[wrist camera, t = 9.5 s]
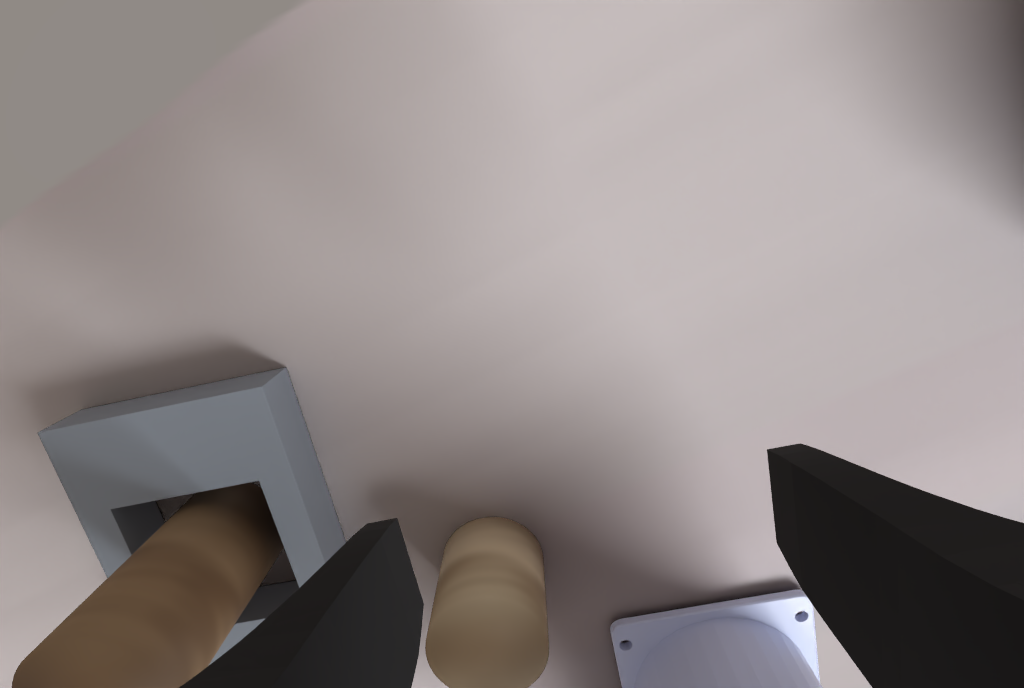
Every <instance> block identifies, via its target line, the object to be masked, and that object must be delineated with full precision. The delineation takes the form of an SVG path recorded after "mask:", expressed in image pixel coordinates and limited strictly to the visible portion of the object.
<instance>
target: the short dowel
mask: <svg viewBox="0 0 1024 688" xmlns="http://www.w3.org/2000/svg"><path fill="white" fill-rule="evenodd" d="M425 649H426V656H427V660H428V663H429V665H430V667H431V669H432V671H433V672H434V674H435V675H436V676H437V677H438V679H440V680H441V681H442V682H443V683H444V684H445V685H447V686H448V687H449V688H527V687H529V686H530V685H531V684H533V683H534V682H535V681H536V680H537V679H538V678H539V676H540V675H541V674H542V672H543V670H544V668H545V666H546V664H547V661H548V656H549V640H548V624H547V608H546V592H545V577H544V561H543V553H542V549H541V546H540V544H539V542H538V540H537V539H536V537H535V536H534V535H533V534H532V533H531V532H530V531H529V530H528V529H527V528H526V527H524V526H522V525H521V524H519V523H517V522H515V521H512V520H509V519H505V518H500V517H485V518H479V519H475V520H473V521H470V522H468V523H466V524H464V525H463V526H461V527H460V528H458V529H457V530H456V531H455V532H454V533H453V534H452V536H451V537H450V538H449V540H448V542H447V544H446V546H445V550H444V554H443V559H442V564H441V569H440V574H439V579H438V583H437V588H436V593H435V598H434V603H433V608H432V613H431V618H430V623H429V628H428V633H427V638H426V646H425Z"/></svg>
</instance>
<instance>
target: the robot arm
mask: <svg viewBox="0 0 1024 688" xmlns="http://www.w3.org/2000/svg"><path fill="white" fill-rule="evenodd" d="M767 453H768V463H769V473H770V482H771V492H772V502H773V511H774V521H775V531H776V540H777V544H778V546H779V548H780V550H781V552H782V554H783V555H784V557H785V559H786V561H787V563H788V565H789V567H790V569H791V570H792V572H793V574H794V576H795V578H796V579H797V581H798V583H799V585H800V587H801V588H802V590H790V591H784V592H778V593H772V594H766V595H760V596H754V597H748V598H742V599H736V600H730V601H724V602H718V603H712V604H706V605H700V606H694V607H688V608H683V609H677V610H671V611H665V612H659V613H653V614H647V615H641V616H635V617H629V618H623V619H619V620H616V621H615V622H613V623H612V625H611V627H610V632H611V637H612V642H613V647H614V652H615V657H616V662H617V666H618V671H619V676H620V681H621V686H622V688H823V687H822V686H821V684H820V679H819V668H818V656H817V644H816V633H815V621H814V610H813V606H814V607H815V609H816V610H817V611H818V613H819V614H820V616H821V617H822V618H823V620H824V621H825V623H826V624H827V625H828V627H829V628H830V630H831V631H832V632H833V634H834V635H835V637H836V638H837V639H838V641H839V642H840V643H841V645H842V646H843V648H844V649H845V650H846V652H847V653H848V654H849V656H850V657H851V659H852V660H853V661H854V663H855V664H856V666H857V667H858V668H859V670H860V671H861V672H862V674H863V675H864V677H865V678H866V679H867V681H868V682H869V683H870V685H871V686H872V688H1024V523H1021V522H1018V521H1014V520H1010V519H1007V518H1003V517H1000V516H997V515H993V514H990V513H987V512H984V511H980V510H977V509H974V508H971V507H968V506H965V505H962V504H960V503H957V502H954V501H951V500H948V499H945V498H942V497H939V496H936V495H933V494H931V493H928V492H925V491H922V490H920V489H917V488H914V487H912V486H909V485H906V484H904V483H901V482H898V481H896V480H893V479H891V478H888V477H886V476H883V475H881V474H878V473H876V472H873V471H871V470H868V469H866V468H863V467H861V466H858V465H856V464H853V463H851V462H848V461H846V460H844V459H841V458H839V457H836V456H834V455H831V454H829V453H826V452H823V451H821V450H818V449H816V448H813V447H810V446H807V445H803V444H795V445H790V446H784V447H779V448H773V449H768V450H767ZM423 605H424V604H423V600H422V597H421V594H420V591H419V587H418V584H417V581H416V578H415V575H414V571H413V568H412V565H411V562H410V558H409V555H408V552H407V549H406V545H405V542H404V539H403V536H402V533H401V529H400V526H399V523H398V520H397V518H395V519H390V520H384V521H379V522H374V523H368V524H366V525H365V526H364V527H363V528H361V529H360V530H359V531H358V532H357V533H356V534H355V535H354V536H353V537H351V538H350V539H349V540H348V541H347V542H346V543H345V544H344V545H343V546H342V547H341V548H340V549H339V550H338V551H337V552H336V553H335V554H334V555H333V556H332V557H331V558H330V559H329V560H328V561H327V562H326V563H325V564H324V565H323V566H322V567H321V568H320V569H319V570H317V571H316V572H315V573H314V574H313V575H312V576H311V577H310V578H309V579H308V580H307V581H306V582H305V583H304V584H303V585H302V586H301V587H300V588H299V589H298V590H297V591H296V592H295V593H294V594H292V595H291V596H290V597H289V598H288V599H287V600H286V601H285V602H284V603H282V604H281V605H280V606H279V607H278V608H277V609H276V610H275V611H274V612H272V613H271V614H270V615H269V616H268V617H267V618H266V619H265V620H264V621H262V622H261V623H260V624H259V625H258V626H257V627H256V628H255V629H254V630H252V631H251V632H250V633H249V634H248V635H246V636H245V637H244V638H243V639H242V640H241V641H239V642H238V643H237V644H236V645H234V646H233V647H232V648H231V649H229V650H228V651H227V652H226V653H224V654H223V655H222V656H221V657H219V658H218V659H217V660H215V661H214V662H213V663H211V664H210V665H209V666H208V667H206V668H205V669H204V670H202V671H201V672H200V673H198V674H197V675H196V676H194V677H193V678H192V679H190V680H189V681H188V682H186V683H185V684H183V685H182V686H180V687H179V688H411V686H412V682H413V678H414V673H415V669H416V664H417V659H418V655H419V646H420V638H421V628H422V616H423ZM800 611H803V612H802V613H801V614H798V615H796V614H797V613H798V612H800ZM624 640H629V642H627V643H621V641H624Z"/></svg>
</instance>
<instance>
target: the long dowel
mask: <svg viewBox="0 0 1024 688" xmlns="http://www.w3.org/2000/svg"><path fill="white" fill-rule="evenodd" d="M283 548H284V546H283V543H282V541H281V538H280V535H279V533H278V530H277V527H276V525H275V522H274V519H273V517H272V514H271V511H270V509H269V506H268V503H267V501H266V498H265V495H264V493H263V490H262V488H261V487H259V486H257V485H255V484H252V483H244V484H239V485H234V486H229V487H223V488H218V489H213V490H208V491H203V492H198V493H195V494H194V495H193V496H192V497H191V498H190V499H189V500H188V501H187V502H186V503H185V504H184V505H183V506H182V507H181V508H180V509H179V510H178V511H177V512H176V513H175V514H174V515H173V516H172V517H171V518H170V519H169V520H167V521H166V522H165V523H164V524H163V525H162V526H161V527H160V528H159V529H158V530H157V531H156V532H155V533H154V534H153V535H152V536H151V537H150V538H149V539H148V540H147V541H146V542H145V543H144V544H143V545H142V546H141V547H140V548H139V549H137V550H136V551H135V552H134V553H133V554H132V555H131V556H130V557H129V558H128V559H127V560H126V561H125V562H124V563H123V564H122V565H121V566H120V567H119V568H118V569H117V570H116V571H115V572H114V573H113V574H112V575H111V576H110V577H109V578H108V579H106V580H105V581H104V582H103V583H102V584H101V585H100V586H99V587H98V588H97V589H96V590H95V591H94V592H93V593H92V594H91V595H90V596H89V597H88V598H87V599H86V600H85V601H84V602H83V603H82V604H81V605H80V606H79V607H78V608H76V609H75V610H74V611H73V612H72V613H71V614H70V615H69V616H68V617H67V618H66V619H65V620H64V621H63V622H62V623H61V624H60V625H59V626H58V627H57V628H56V629H55V630H54V631H53V632H52V633H51V634H50V635H49V636H48V637H47V638H45V639H44V640H43V641H42V642H41V643H40V644H39V645H38V646H37V647H36V648H35V649H34V650H33V651H32V652H31V653H30V654H29V655H28V656H27V657H26V658H25V659H24V660H23V661H22V662H21V663H20V665H19V666H18V668H17V670H16V672H15V674H14V678H13V682H12V688H179V687H180V686H182V685H183V684H185V683H186V682H188V681H189V680H190V679H192V678H193V677H194V676H196V675H197V674H198V673H200V672H201V671H202V670H204V669H205V668H206V667H208V665H209V664H210V662H211V661H212V659H213V658H214V656H215V654H216V653H217V651H218V650H219V648H220V647H221V645H222V643H223V642H224V640H225V639H226V637H227V636H228V634H229V633H230V631H231V629H232V628H233V626H234V625H235V623H236V622H237V620H238V619H239V617H240V615H241V614H242V612H243V611H244V609H245V608H246V606H247V604H248V603H249V601H250V600H251V598H252V597H253V595H254V594H255V592H256V590H257V589H258V587H259V586H260V584H261V583H262V581H263V580H264V578H265V576H266V575H267V573H268V572H269V570H270V569H271V567H272V565H273V564H274V562H275V561H276V559H277V558H278V556H279V555H280V553H281V551H282V550H283Z"/></svg>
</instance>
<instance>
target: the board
mask: <svg viewBox="0 0 1024 688" xmlns="http://www.w3.org/2000/svg"><path fill="white" fill-rule="evenodd" d="M38 435H39V437H40V439H41V441H42V443H43V445H44V448H45V450H46V452H47V454H48V456H49V458H50V460H51V462H52V464H53V466H54V468H55V470H56V472H57V474H58V477H59V479H60V481H61V483H62V485H63V487H64V489H65V491H66V493H67V495H68V497H69V499H70V501H71V503H72V505H73V508H74V510H75V512H76V514H77V516H78V518H79V520H80V522H81V524H82V526H83V528H84V530H85V532H86V534H87V537H88V539H89V541H90V543H91V545H92V547H93V549H94V551H95V553H96V555H97V557H98V559H99V561H100V563H101V566H102V568H103V570H104V572H105V574H106V576H107V578H109V577H110V576H111V575H112V574H113V573H114V572H115V571H116V570H117V569H118V568H119V567H120V566H121V565H122V564H123V563H124V562H125V561H126V560H127V559H128V558H129V557H130V556H131V555H132V554H133V553H134V552H135V551H136V550H137V549H139V548H140V547H141V546H142V545H143V544H144V543H145V542H146V541H147V540H148V539H149V538H150V537H151V536H152V535H153V534H154V533H155V532H156V531H157V530H158V529H159V528H160V527H161V526H162V525H163V524H164V523H165V522H164V520H163V518H162V515H161V513H160V511H159V508H158V506H157V504H156V502H155V501H156V500H161V499H167V498H172V497H177V496H182V495H187V494H192V493H198V492H203V491H208V490H213V489H218V488H223V487H229V486H234V485H239V484H244V483H249V482H254V481H259V482H260V485H261V488H262V490H263V493H264V495H265V498H266V501H267V503H268V506H269V509H270V511H271V514H272V517H273V519H274V522H275V525H276V527H277V530H278V533H279V535H280V538H281V541H282V543H283V546H284V549H285V551H286V554H287V556H288V559H289V562H290V564H291V567H292V570H293V572H294V575H295V578H296V581H290V582H284V583H279V584H273V585H268V586H262V587H258V589H257V590H256V592H255V594H254V595H253V597H252V598H251V600H250V601H249V603H248V604H247V606H246V608H245V609H244V611H243V612H242V614H241V615H240V617H239V619H238V620H237V622H236V623H235V625H234V626H233V628H232V629H231V631H230V633H229V634H228V636H227V637H226V639H225V640H224V642H223V643H222V645H221V647H220V648H219V650H218V651H217V653H216V654H215V656H214V658H213V659H212V661H211V662H210V664H211V663H213V662H214V661H215V660H217V659H218V658H219V657H221V656H222V655H223V654H224V653H226V652H227V651H228V650H229V649H231V648H232V647H233V646H234V645H236V644H237V643H238V642H239V641H241V640H242V639H243V638H244V637H245V636H246V635H248V634H249V633H250V632H251V631H252V630H254V629H255V628H256V627H257V626H258V625H259V624H260V623H261V622H262V621H264V620H265V619H266V618H267V617H268V616H269V615H270V614H271V613H272V612H274V611H275V610H276V609H277V608H278V607H279V606H280V605H281V604H282V603H284V602H285V601H286V600H287V599H288V598H289V597H290V596H291V595H292V594H294V593H295V592H296V591H297V590H298V589H299V588H300V587H301V586H302V585H303V584H304V583H305V582H306V581H307V580H308V579H309V578H310V577H311V576H312V575H313V574H314V573H315V572H316V571H317V570H319V569H320V568H321V567H322V566H323V565H324V564H325V563H326V562H327V561H328V560H329V559H330V558H331V557H332V556H333V555H334V554H335V553H336V552H337V551H338V550H339V549H340V548H341V547H342V546H343V545H344V544H345V543H346V541H345V538H344V535H343V532H342V529H341V526H340V523H339V520H338V517H337V514H336V511H335V508H334V505H333V502H332V500H331V497H330V494H329V491H328V488H327V485H326V482H325V479H324V476H323V473H322V470H321V467H320V464H319V462H318V459H317V456H316V453H315V450H314V447H313V444H312V441H311V438H310V435H309V432H308V429H307V426H306V423H305V421H304V418H303V415H302V412H301V409H300V406H299V403H298V400H297V397H296V394H295V391H294V388H293V385H292V382H291V380H290V377H289V374H288V371H287V368H286V367H285V368H280V369H275V370H270V371H266V372H261V373H256V374H251V375H246V376H241V377H237V378H232V379H227V380H222V381H217V382H213V383H208V384H203V385H198V386H193V387H188V388H184V389H179V390H174V391H169V392H164V393H160V394H155V395H150V396H145V397H140V398H135V399H131V400H126V401H121V402H116V403H111V404H107V405H102V406H97V407H92V408H87V409H82V410H80V411H78V412H76V413H74V414H72V415H70V416H68V417H66V418H65V419H63V420H61V421H59V422H57V423H55V424H53V425H51V426H49V427H47V428H46V429H44V430H42V431H40V432H38ZM210 664H209V665H210ZM209 665H208V666H209Z"/></svg>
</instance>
